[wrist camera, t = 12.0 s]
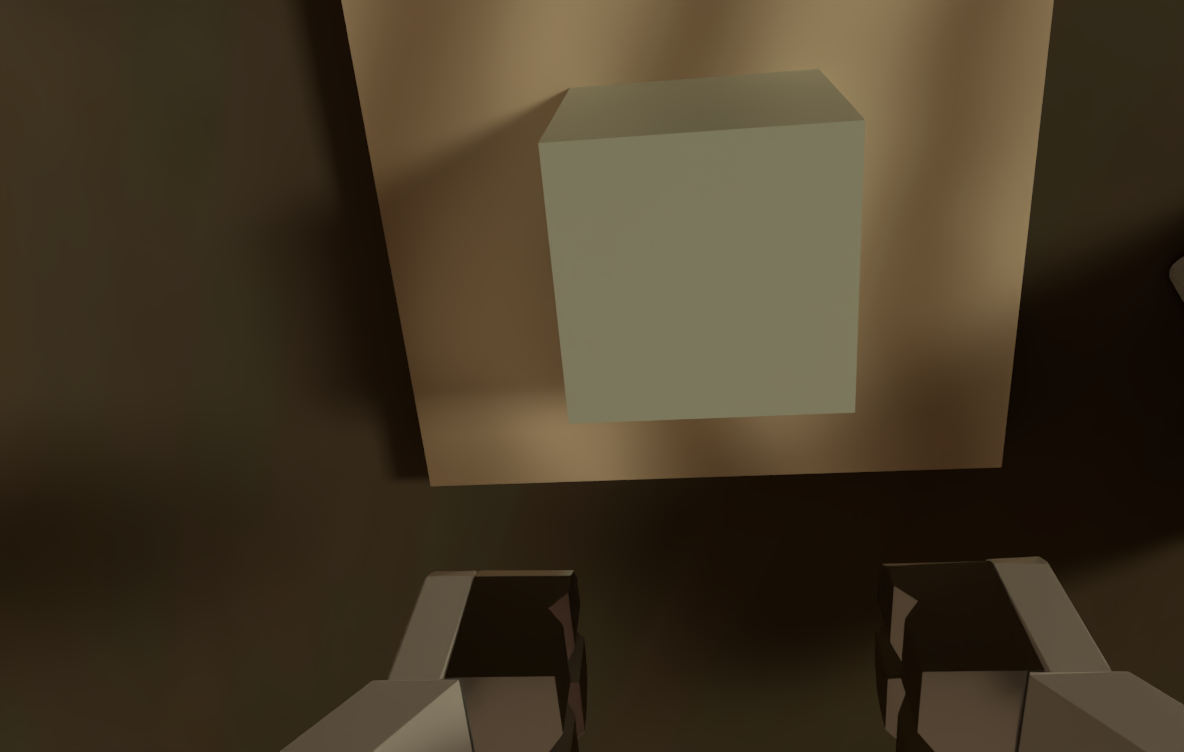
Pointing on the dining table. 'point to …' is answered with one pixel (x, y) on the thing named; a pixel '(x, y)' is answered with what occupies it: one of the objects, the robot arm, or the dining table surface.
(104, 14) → the dining table surface
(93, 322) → the dining table surface
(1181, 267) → the coffee box
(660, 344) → the sage green cube
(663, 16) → the post board
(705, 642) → the dining table surface
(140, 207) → the dining table surface
